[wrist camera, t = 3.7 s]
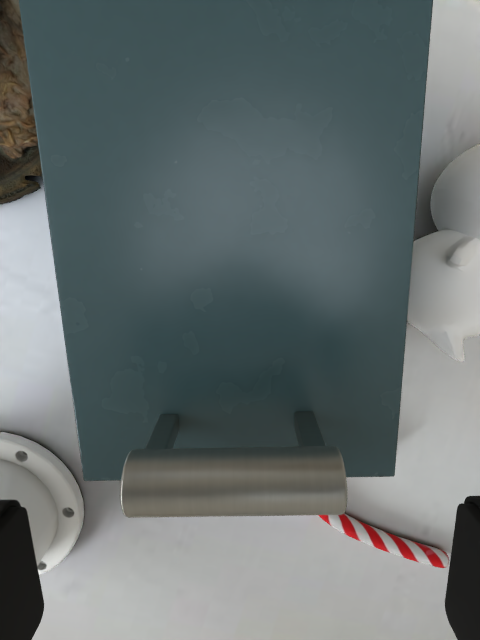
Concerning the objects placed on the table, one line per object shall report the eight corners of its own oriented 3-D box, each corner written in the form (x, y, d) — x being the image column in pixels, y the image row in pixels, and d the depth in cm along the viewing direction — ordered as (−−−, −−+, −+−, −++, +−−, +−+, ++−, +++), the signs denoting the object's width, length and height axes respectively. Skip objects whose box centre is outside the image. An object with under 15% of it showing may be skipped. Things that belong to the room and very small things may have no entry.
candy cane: (418, 595, 30) (274, 486, 28) (411, 580, 32) (272, 475, 29) (494, 531, 29) (349, 411, 27) (484, 519, 30) (344, 403, 28)
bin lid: (387, 464, 16) (455, 577, 11) (91, 469, 16) (20, 582, 11) (429, -90, 11) (577, -340, 6) (20, -75, 12) (-153, -306, 7)
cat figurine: (483, 380, 17) (699, 128, 14) (300, 260, 22) (437, 49, 19) (474, 369, 25) (614, 203, 22) (340, 281, 29) (442, 134, 27)
